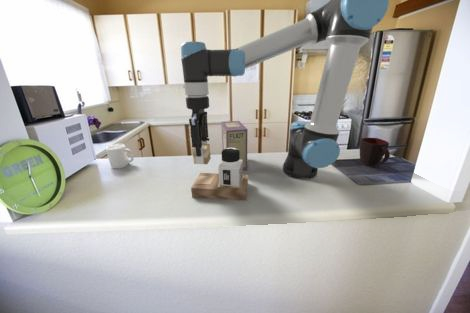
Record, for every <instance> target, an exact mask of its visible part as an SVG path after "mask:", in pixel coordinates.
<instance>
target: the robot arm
mask: <svg viewBox="0 0 470 313" xmlns="http://www.w3.org/2000/svg"><path fill="white" fill-rule="evenodd" d="M389 5H390V0H329V1H328V2H326V3H325V4H324V5H323V6H321V7H319V8H317V9H316V10H315V11H312V12H309V13H308V14H307V15H306V16H305V18H304V19H302V20H299V21H297V22H295V23H292V24H289V25H287V26H285V27H283V28H281V29H279V30H276V31H274V32H272V33H271V32H270V33H269V34H267V35H264V36H262V37H260V38H257V39H256V40H253V41H250V42H248V43H246V44H244V45H241V46H239V47H237V48H232V49H229V48H228V49H207V46H206V44H205V42H202V41H185V42H183V43H182V44H181V45H180V52H181V60H180V61H181V66H182V75H183V82H184V83H183V84H184V85H183V86H182V87H183V89H184V92H185V96H186V97H185V106H186V109H188V110H191V118H189V120H188V121H189V122H188V123H189V126H190V137H191V148H195V154H196V164H195V165H205V164H204V154H203V147H202V144H208V142H209V141H210V138H209V128H208V124H209V123H208V111H205V110H207V109H209V108H210V99H209V96H208V95H209V81H208V80H209V78H208V77H234V78H235V77H241V76H244V75H245V73H246V72H245V71H246V69H248V68H251V67H253V66H256V65H258V64H260V63H263V62H265V61H268V60H270V59H273V58H275V57H277V56H280V55H282V54H286V53H287V52H290V51H292V50H295V49H297V48H300V47H302V46H306V45H307V44H311V45H316V44H317V43H320V42H321V43H322V42H323V41H326V42H327V43H328V45H329V46H328V50H327V55H326V58H325V62H324V67H323V70H322V74H321V78H320V83H319V85H318V89H317V90H318V91H317V94H316V98H315V102H314V105H313V109H312V113H311V118H310V121H309V120H308V121H307V120H306V121H294V122H292V123H291V124H290V127H289V128H290V129H289V141H288V152H287V156H286V158H285V160H284V162H283V165H282V172H283V173H284V174H285V175H287V176H288V177H290V178H294V179H298V180H299V179H300V180H310V179H314V178H315V177H317V175H318V171H319V170H318V169H322V168H324V169H325V168H327V167H328V166H331V165H333V163H335V162H336V161H337V159H338V158H339V156H340V152H341V148H340V146H339V144H338V138H339V134H340V130H339V128H338V127H337V126H338V121H339V118H340V116H341V112H342V110H343V109H342V108H343V107H344V106H343V105H344V102H345V99H346V96H347V92H348V89H349V85H350V82H351V79H352V75H353V73H354V70H355V66H356V63H357V60H358V57H359V53H360V51H361V48H362V47H363V46H364V45H365V44H367V43H368V42H369V41H370V38H371V35H372V32H373V31H372V30H373V29H374V27H376V26H377V25H378V24H379V23H380V22H381V21H382V20H383V19H384V17H385V16H386V14H387V12H388V8H389V7H390V6H389Z"/></svg>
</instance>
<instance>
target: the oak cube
mask: <svg viewBox="0 0 470 313" xmlns="http://www.w3.org/2000/svg"><path fill="white" fill-rule="evenodd" d="M202 147H203V154H204V164H203V165H208V164H209V162H210V161H211V145H210V143H207V144H202ZM191 148H192V149H191V150H192V159H193V165H197V164H196V154H195V148H193V147H191Z"/></svg>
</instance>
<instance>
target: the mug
mask: <svg viewBox="0 0 470 313" xmlns="http://www.w3.org/2000/svg"><path fill="white" fill-rule="evenodd" d="M389 145H390V143H389V142H388V141H387V140H384V139H381V138H378V137H362V138H361V139H360V141H359V160H360V164H362V165H363V166H365V167H371V168H372V167H373V168H374V167H377V166H378V165H381V164H384V163H386V162H387V161H388V160H389V159H390V158H391V157H390V156H391V153H390V150H389V149H388V148H389Z"/></svg>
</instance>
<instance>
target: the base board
mask: <svg viewBox="0 0 470 313" xmlns="http://www.w3.org/2000/svg"><path fill="white" fill-rule="evenodd" d="M248 181H249V175H248V174H243V177H242V181H241V184H240V187H234V186H222V185H219V173H212V172H211V173H210V172H200V173H198V176H197V177H196V179H195V181H194V182H193V184H192V186H191V187H190V190H191V197H192V198H201V199H218V200H233V201H234V200H235V201H246V199H247V192H248V185H249V183H248Z"/></svg>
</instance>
